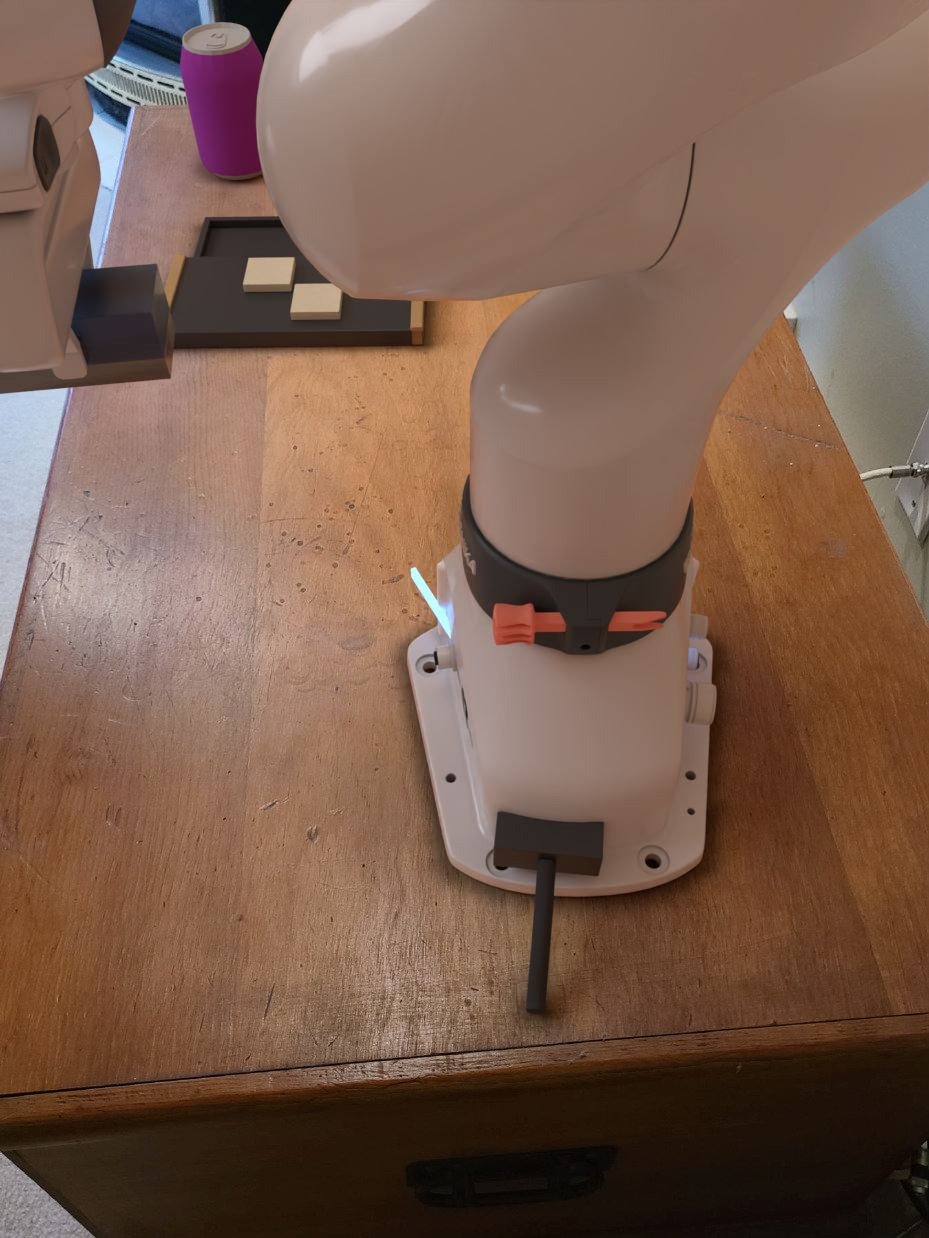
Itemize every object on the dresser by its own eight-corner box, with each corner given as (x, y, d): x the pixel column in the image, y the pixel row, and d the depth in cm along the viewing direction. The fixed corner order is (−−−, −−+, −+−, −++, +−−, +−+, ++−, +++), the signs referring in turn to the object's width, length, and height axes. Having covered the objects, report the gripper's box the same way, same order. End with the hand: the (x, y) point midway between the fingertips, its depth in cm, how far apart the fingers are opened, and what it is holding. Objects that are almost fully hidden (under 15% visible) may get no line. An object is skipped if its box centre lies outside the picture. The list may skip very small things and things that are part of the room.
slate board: (423, 345, 81) (422, 326, 80) (156, 348, 81) (150, 330, 80) (425, 269, 88) (424, 251, 86) (179, 272, 88) (174, 254, 86)
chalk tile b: (291, 292, 83) (290, 283, 83) (244, 292, 83) (242, 284, 83) (296, 265, 86) (294, 257, 85) (250, 265, 86) (248, 257, 85)
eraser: (171, 379, 58) (151, 312, 54) (-4, 395, 57) (-36, 328, 53) (175, 329, 61) (157, 262, 57) (9, 343, 60) (-20, 277, 57)
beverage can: (209, 146, 102) (182, 19, 93) (283, 145, 102) (263, 18, 92) (196, 184, 97) (166, 54, 88) (273, 184, 97) (252, 54, 88)
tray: (409, 269, 88) (409, 258, 87) (195, 271, 88) (192, 260, 87) (412, 225, 92) (411, 214, 92) (207, 227, 92) (204, 216, 92)
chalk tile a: (340, 319, 81) (339, 311, 80) (291, 320, 81) (290, 312, 80) (343, 291, 83) (342, 283, 83) (296, 292, 83) (294, 283, 83)
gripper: (-38, 11, 53) (49, 247, 64) (-133, 204, 40) (-4, 458, 51) (81, 3, 54) (148, 239, 64) (25, 192, 41) (120, 447, 52)
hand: (80, 338), depth 58 cm, fingers closed on eraser, 5 cm apart
